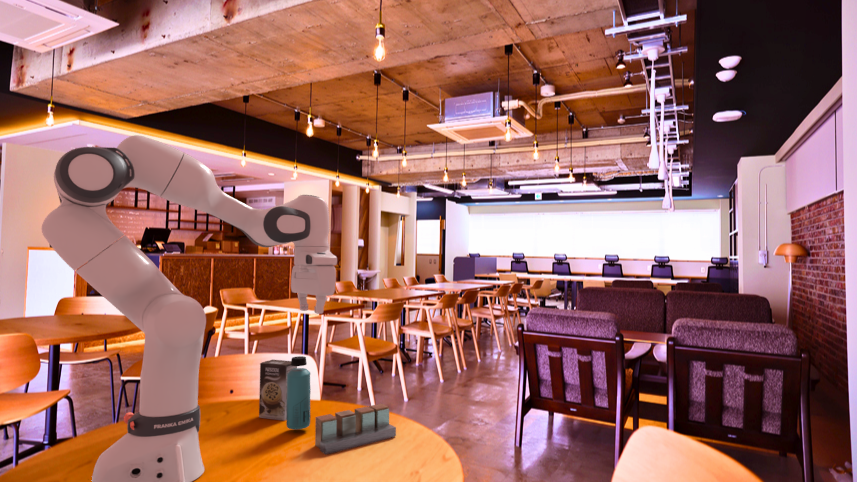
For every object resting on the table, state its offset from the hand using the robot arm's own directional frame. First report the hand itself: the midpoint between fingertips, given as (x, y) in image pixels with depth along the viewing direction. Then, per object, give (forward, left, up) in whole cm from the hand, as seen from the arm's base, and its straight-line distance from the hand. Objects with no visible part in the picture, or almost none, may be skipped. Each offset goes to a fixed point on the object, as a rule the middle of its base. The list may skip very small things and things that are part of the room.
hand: (311, 311), depth 122 cm
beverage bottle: (+1, +10, -33) cm, 35 cm away
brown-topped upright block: (+8, -4, -33) cm, 34 cm away
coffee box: (+1, +26, -33) cm, 42 cm away
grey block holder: (+10, -6, -33) cm, 35 cm away
